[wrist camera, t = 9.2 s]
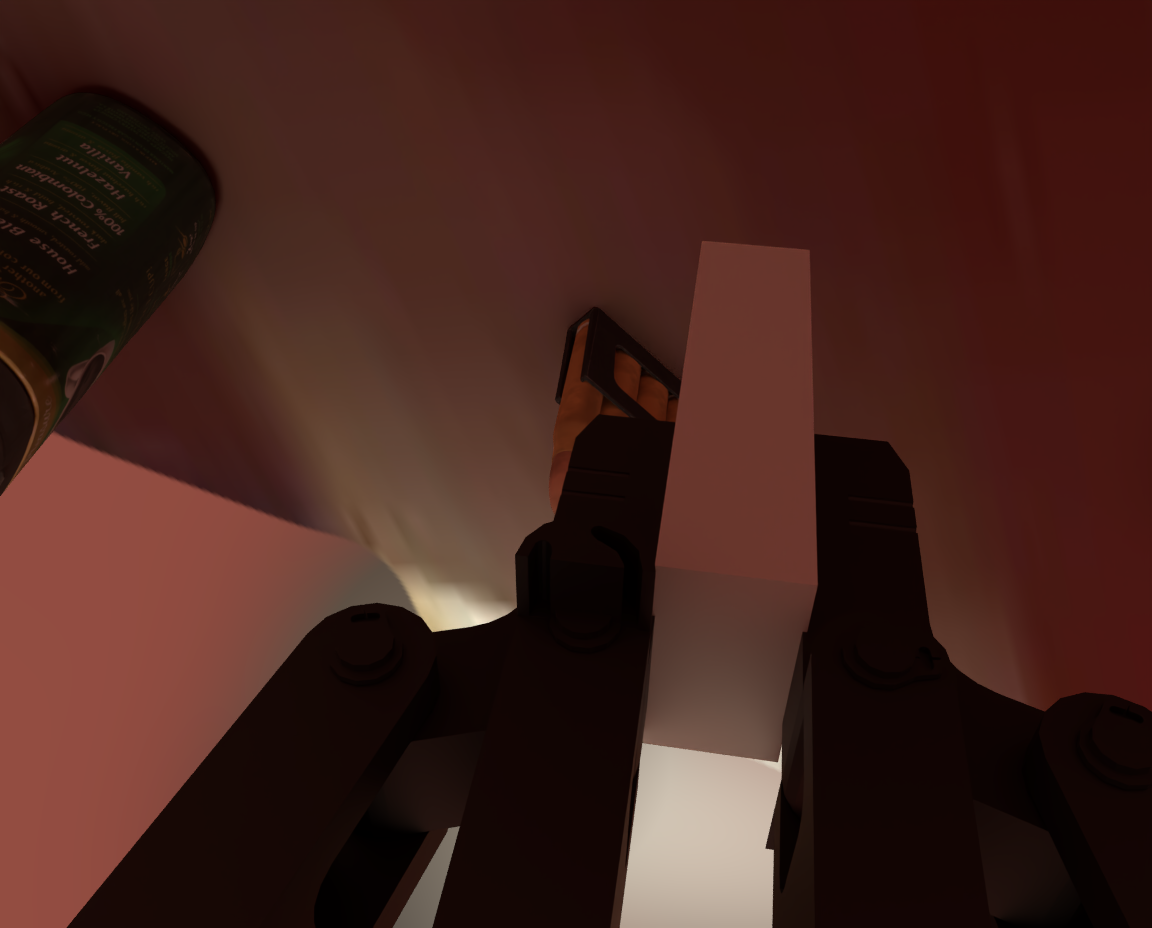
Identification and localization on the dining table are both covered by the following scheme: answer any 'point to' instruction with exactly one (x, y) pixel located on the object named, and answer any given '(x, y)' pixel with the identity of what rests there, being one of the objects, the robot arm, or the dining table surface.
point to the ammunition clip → (605, 386)
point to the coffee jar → (85, 253)
